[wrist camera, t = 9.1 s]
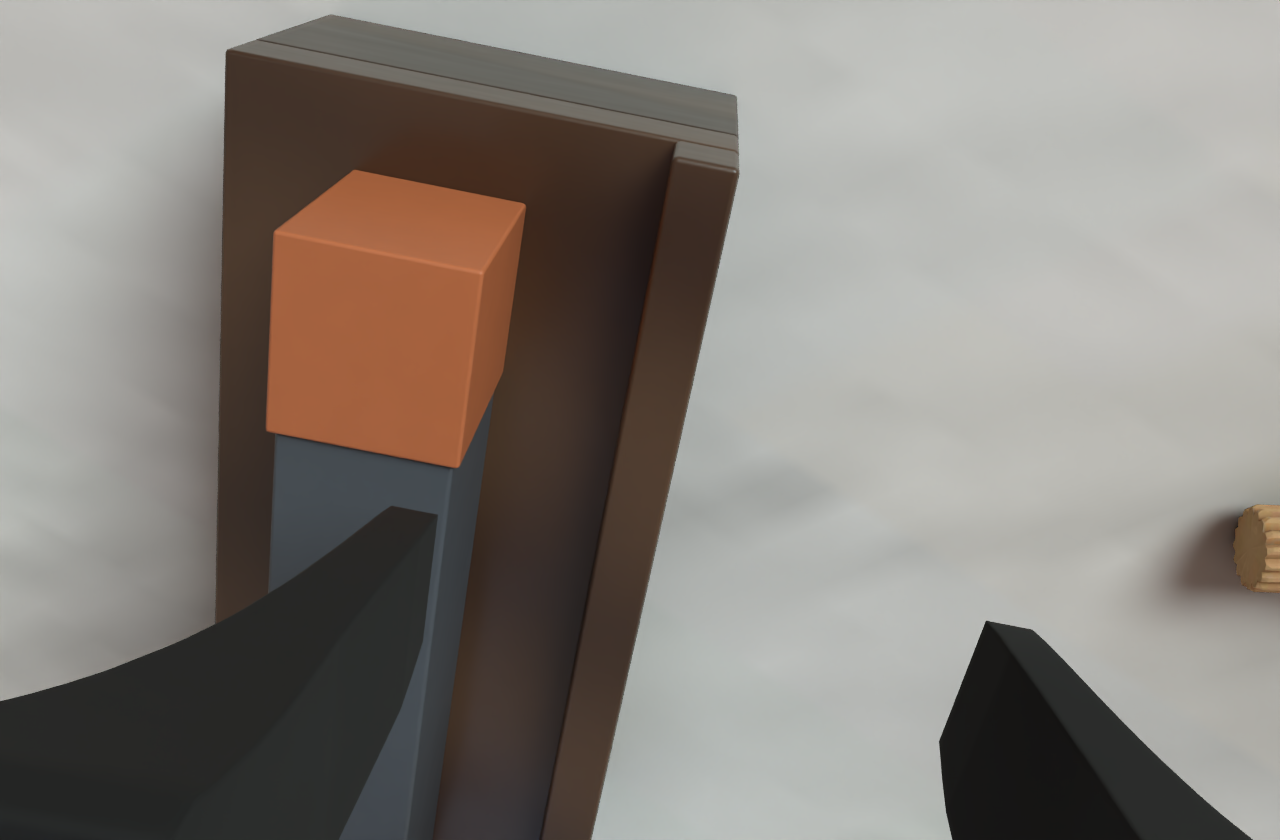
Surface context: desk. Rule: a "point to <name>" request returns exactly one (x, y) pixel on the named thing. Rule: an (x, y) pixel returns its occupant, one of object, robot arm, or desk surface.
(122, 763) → the robot arm
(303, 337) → the marker
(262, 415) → the shelf
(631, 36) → the desk surface
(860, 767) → the desk surface
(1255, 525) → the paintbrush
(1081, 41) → the desk surface
